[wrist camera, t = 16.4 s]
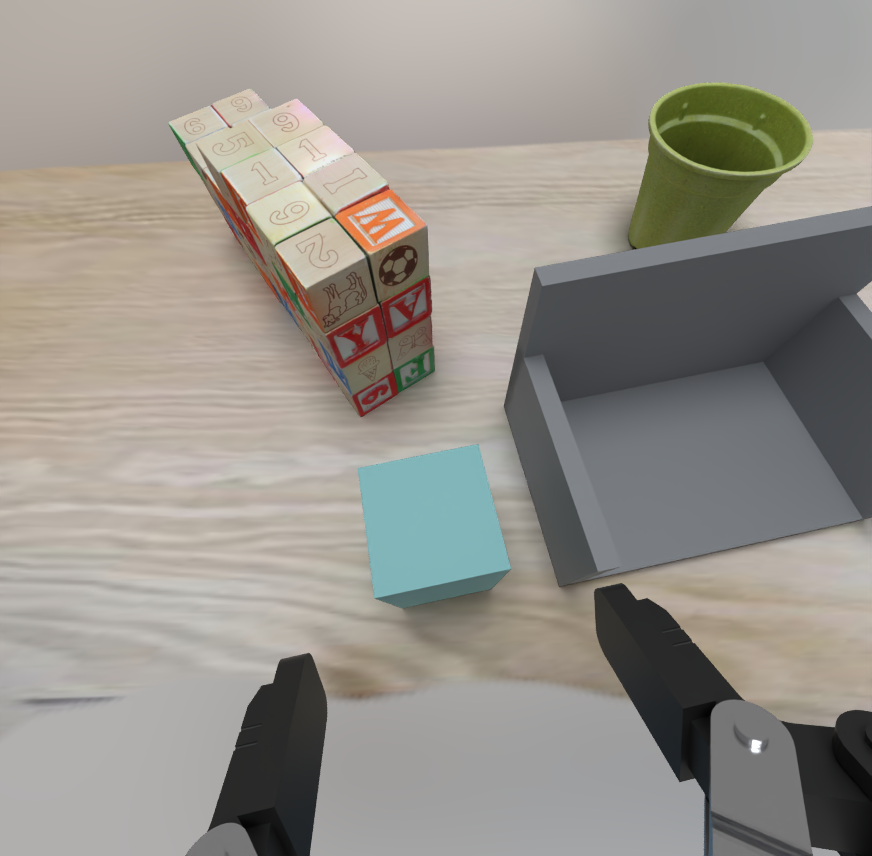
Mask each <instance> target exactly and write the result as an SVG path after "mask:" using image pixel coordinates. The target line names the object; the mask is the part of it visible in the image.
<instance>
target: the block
mask: <svg viewBox="0 0 872 856" xmlns="http://www.w3.org/2000/svg"><path fill="white" fill-rule="evenodd" d="M358 474H359V481H360V489H361V497H362V505H363V513H364V520H365V528H366V536H367V544H368V551H369V559H370V567H371V575H372V583H373V590H374V598H375V599H378V600H381V601H383V602H386V603H389V604H392V605H394V606H397V607H400V608H406V607H411V606H415V605H420V604H424V603H429V602H434V601H438V600H443V599H447V598H452V597H457V596H461V595H466V594H470V593H475V592H480V591H484V590H489V589H492V588H493V587H494V586H495V585H496V584H497V583H498V582H499V581H500V580H501V579H502V578H503V577H504V576H505V575H506V574H507V573H508V572H509V571H510V570H511V566H510V563H509V559H508V555H507V551H506V548H505V544H504V540H503V536H502V532H501V529H500V525H499V521H498V517H497V513H496V510H495V506H494V502H493V498H492V494H491V491H490V487H489V483H488V479H487V475H486V472H485V468H484V464H483V460H482V456H481V453H480V449H479V445H478V444H476V445H471V446H466V447H461V448H456V449H451V450H446V451H441V452H436V453H431V454H426V455H421V456H416V457H411V458H406V459H401V460H396V461H391V462H386V463H381V464H376V465H371V466H366V467H361V468H358Z"/></svg>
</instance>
